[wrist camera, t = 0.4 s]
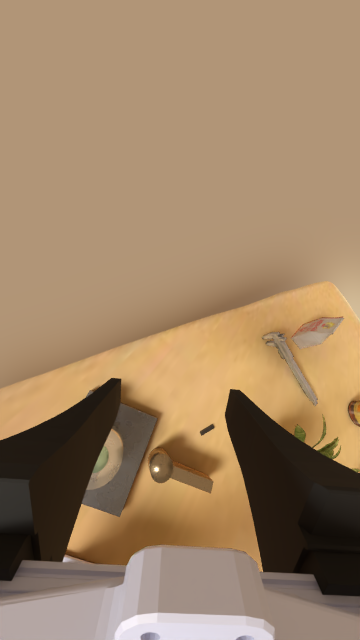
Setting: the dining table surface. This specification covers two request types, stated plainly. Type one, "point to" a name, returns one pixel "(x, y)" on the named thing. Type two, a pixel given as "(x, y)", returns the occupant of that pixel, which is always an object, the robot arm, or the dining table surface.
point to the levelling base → (129, 461)
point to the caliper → (290, 362)
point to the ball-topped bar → (176, 471)
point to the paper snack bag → (315, 331)
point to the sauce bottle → (355, 412)
